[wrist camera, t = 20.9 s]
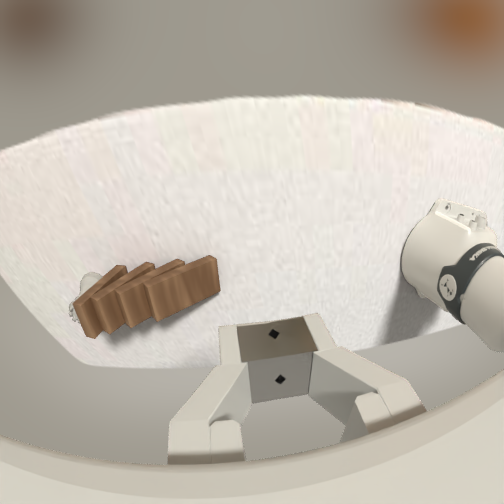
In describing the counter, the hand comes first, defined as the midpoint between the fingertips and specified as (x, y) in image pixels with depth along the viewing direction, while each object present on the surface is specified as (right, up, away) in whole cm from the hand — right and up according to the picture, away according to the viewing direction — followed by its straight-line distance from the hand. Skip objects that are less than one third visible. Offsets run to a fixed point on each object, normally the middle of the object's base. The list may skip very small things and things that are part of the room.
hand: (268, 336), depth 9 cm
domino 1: (-18, -2, +30) cm, 35 cm away
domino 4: (-5, 0, +31) cm, 31 cm away
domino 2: (-14, -1, +30) cm, 33 cm away
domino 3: (-10, -1, +31) cm, 32 cm away
